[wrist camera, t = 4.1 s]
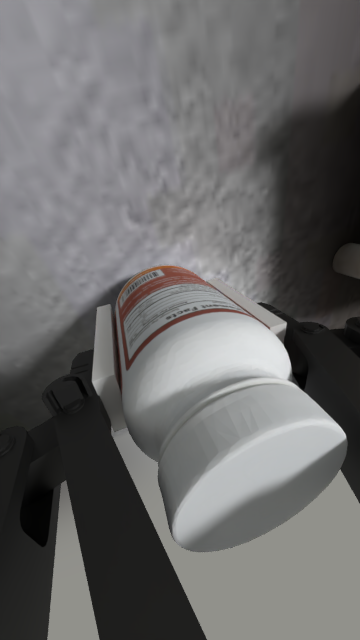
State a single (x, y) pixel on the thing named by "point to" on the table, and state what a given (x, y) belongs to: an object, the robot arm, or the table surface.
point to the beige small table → (348, 260)
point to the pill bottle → (218, 411)
